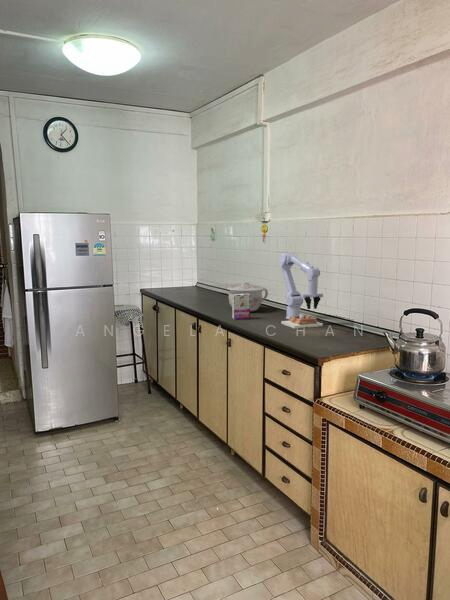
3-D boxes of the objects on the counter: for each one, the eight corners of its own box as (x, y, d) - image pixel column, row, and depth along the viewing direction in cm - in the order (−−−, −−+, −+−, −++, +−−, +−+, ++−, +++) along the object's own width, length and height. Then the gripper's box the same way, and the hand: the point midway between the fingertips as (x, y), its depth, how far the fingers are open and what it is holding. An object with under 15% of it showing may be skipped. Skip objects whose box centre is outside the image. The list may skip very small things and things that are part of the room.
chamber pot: (221, 312, 325) (221, 283, 322) (233, 306, 351) (233, 280, 348) (259, 315, 316) (260, 285, 313) (268, 309, 342) (269, 281, 339)
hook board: (281, 323, 287) (281, 313, 286) (308, 321, 295) (308, 311, 294) (294, 328, 272) (294, 317, 271) (322, 326, 280) (323, 315, 279)
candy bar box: (247, 317, 306) (248, 293, 304) (250, 319, 302) (250, 294, 299) (231, 318, 303) (232, 293, 301) (233, 319, 299) (234, 294, 296)
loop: (289, 321, 287) (289, 316, 286) (306, 320, 291) (306, 315, 291) (299, 324, 276) (300, 320, 275) (316, 323, 280) (316, 318, 280)
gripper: (306, 288, 278) (305, 310, 280) (326, 287, 284) (325, 309, 286) (300, 287, 285) (299, 308, 287) (320, 286, 290) (319, 307, 292)
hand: (311, 308), depth 287 cm, fingers open, 4 cm apart
